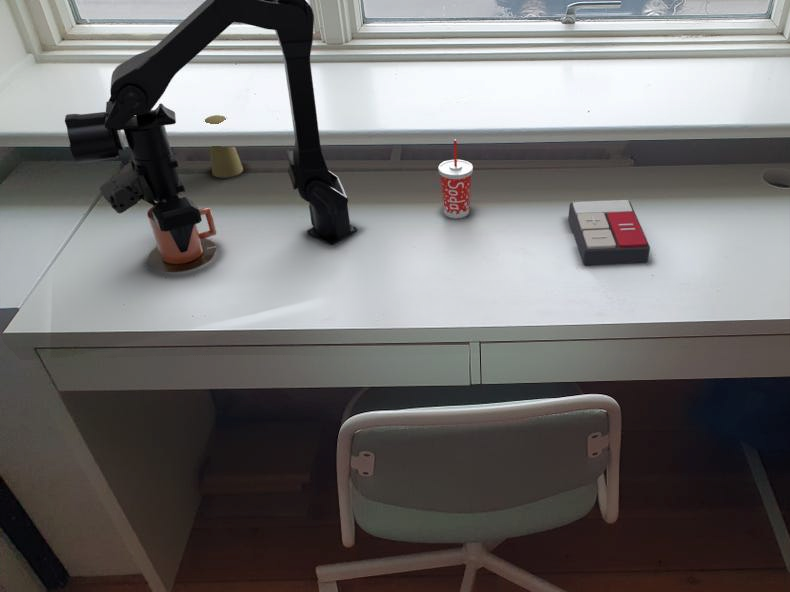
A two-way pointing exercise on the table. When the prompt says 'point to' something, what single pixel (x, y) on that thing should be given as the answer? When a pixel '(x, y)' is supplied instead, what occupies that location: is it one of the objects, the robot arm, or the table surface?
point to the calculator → (608, 232)
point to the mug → (169, 247)
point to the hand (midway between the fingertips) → (177, 241)
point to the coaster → (161, 265)
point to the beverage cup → (456, 185)
